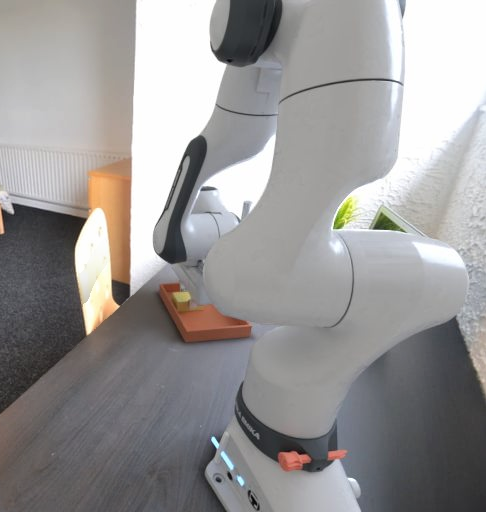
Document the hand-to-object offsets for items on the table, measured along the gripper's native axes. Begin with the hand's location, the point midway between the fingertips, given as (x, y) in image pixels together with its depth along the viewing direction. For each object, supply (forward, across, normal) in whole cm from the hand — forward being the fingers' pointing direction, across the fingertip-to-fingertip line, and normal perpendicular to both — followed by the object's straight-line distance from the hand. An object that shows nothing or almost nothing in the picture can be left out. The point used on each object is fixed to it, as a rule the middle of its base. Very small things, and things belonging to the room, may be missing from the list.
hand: (187, 300), depth 94 cm
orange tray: (+2, -3, -2) cm, 4 cm away
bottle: (+2, +8, -16) cm, 19 cm away
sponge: (+2, 0, 0) cm, 2 cm away
